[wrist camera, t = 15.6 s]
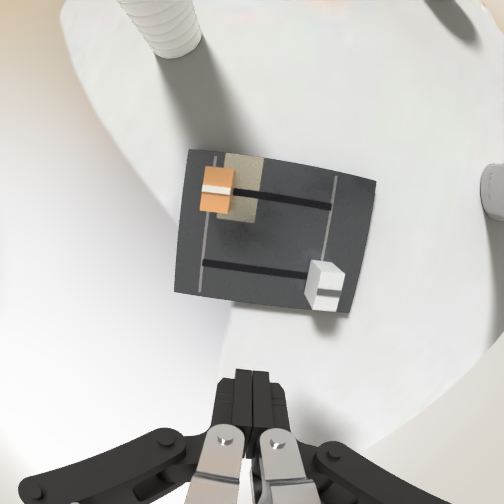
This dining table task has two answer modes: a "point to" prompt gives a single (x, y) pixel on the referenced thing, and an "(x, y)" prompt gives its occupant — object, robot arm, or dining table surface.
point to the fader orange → (217, 189)
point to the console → (271, 230)
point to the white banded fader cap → (324, 285)
